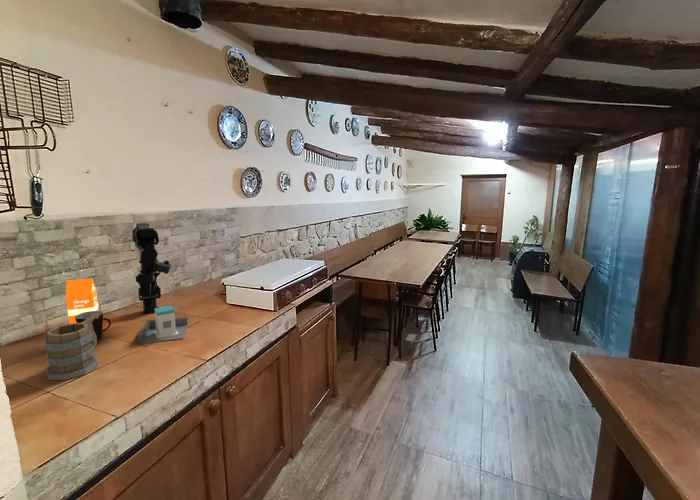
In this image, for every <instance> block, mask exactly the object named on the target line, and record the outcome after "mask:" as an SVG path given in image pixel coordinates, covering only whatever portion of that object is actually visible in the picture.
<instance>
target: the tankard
mask: <svg viewBox="0 0 700 500" xmlns="http://www.w3.org/2000/svg"><path fill="white" fill-rule="evenodd" d="M98 317H99V314H96V313H91V314H90V315H89V316H88V317H87V318H86V320H85V321H84V322H81V323H71V324H69V323H66V324H61V325H58V326H55V327H53V328H51V329H49V330H47V331H46V332H45V334H46V338H44V345H43V346H44V347H45V349H46V352H48V353H46V362H47V364H48V366H49V367H46V369H45V370H46V377H47V380H48V381H50V380H51V381H67V380H71V379H74V378H78V377H82V376H85V375H88V374H89V372H91V371H93V370H95V369H96V368H97V367H98V366H99V361H98V359H97V357H96V356H95V350H96V345H97V342H98V341H97V336H96V334H95V332H94V330H93V325H92V321H93V320H94V319H98Z"/></svg>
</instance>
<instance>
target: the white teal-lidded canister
mask: <svg viewBox="0 0 700 500" xmlns="http://www.w3.org/2000/svg"><path fill="white" fill-rule="evenodd" d="M154 310H155V312H154V318H155V319H154V320H155V322H156V332H157V334H158V336H159V337H163V336H167V335H171V334H176V324H175V318H176V315H175V314H176V312H175V309H174V307H173V306H172V305H167V306H161V307H160V306H159V308H155V309H154Z"/></svg>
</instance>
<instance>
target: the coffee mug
mask: <svg viewBox="0 0 700 500" xmlns="http://www.w3.org/2000/svg"><path fill="white" fill-rule="evenodd" d="M91 313H96V314H99V317H98V319H94V320H93V321H92V325H93V330H94V332H95V334H96V336H97V342H98V341H101V340H102V339H103V332H105V331H107V330H108V329H109V328H110V327H111V325H112V322H111V320H110V319H109V318H107V317H104V311H101V310H99V311H89V312H84V313H81V314H78V315H76V316H75V319H76V323H81V322H84V321H85V320H86V318H87V317H88V316H89V315H90V314H91ZM104 320H105V321H108V326H106V327H105V328H104V329H103V327H104V326H103V323H104ZM100 339H101V340H100Z"/></svg>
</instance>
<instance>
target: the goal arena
mask: <svg viewBox="0 0 700 500" xmlns="http://www.w3.org/2000/svg"><path fill="white" fill-rule="evenodd" d="M188 320H189V318H188V316H183V317H175V324H176V334H171V335H167V336H163V337H159V336H158V334H157V332H156V322H155V319H149V320H147V321H145V324H144V325H143V327H141V330H140V331H139V332H138V334H137V340H138V344H139V345H140V344H148V343H149V344H150V343H151V344H152V343H157V342H160V343H161V342H168V341H177V340H183V339H184V337H185V334H186V332H187V331H186V330H187V328H188V325H189V323H188Z"/></svg>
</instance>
